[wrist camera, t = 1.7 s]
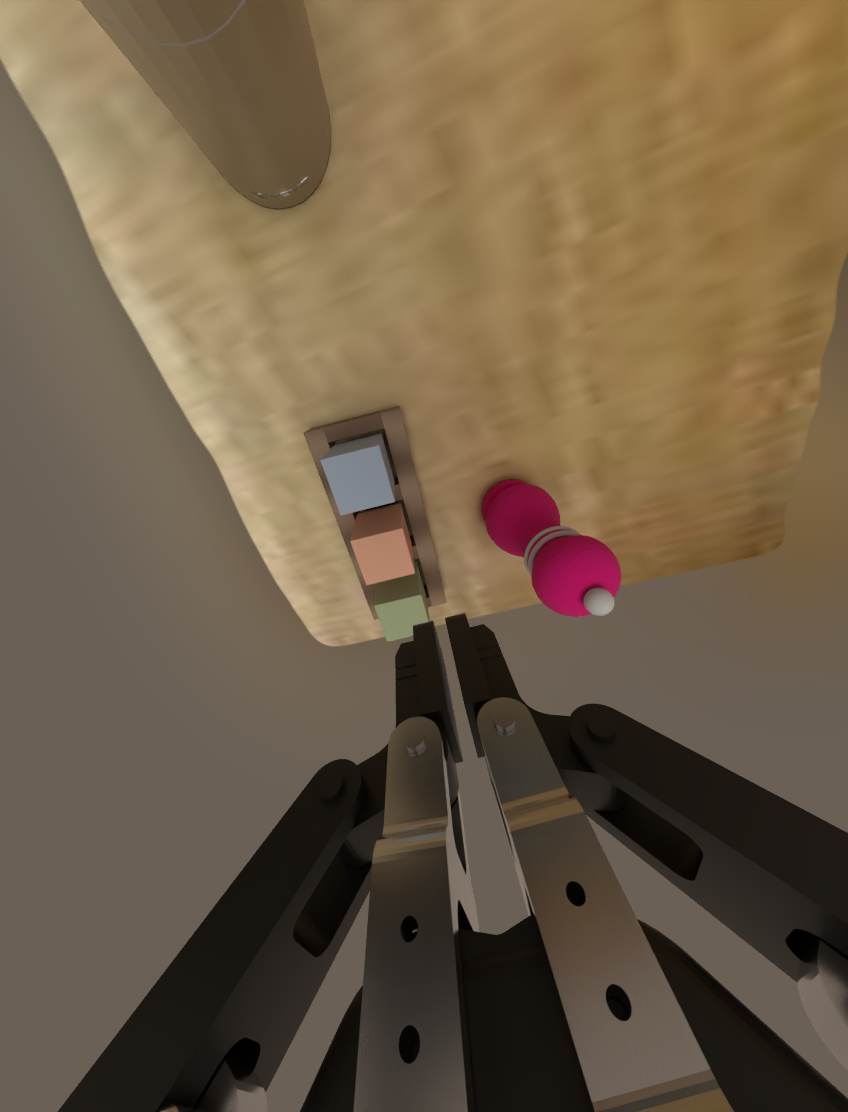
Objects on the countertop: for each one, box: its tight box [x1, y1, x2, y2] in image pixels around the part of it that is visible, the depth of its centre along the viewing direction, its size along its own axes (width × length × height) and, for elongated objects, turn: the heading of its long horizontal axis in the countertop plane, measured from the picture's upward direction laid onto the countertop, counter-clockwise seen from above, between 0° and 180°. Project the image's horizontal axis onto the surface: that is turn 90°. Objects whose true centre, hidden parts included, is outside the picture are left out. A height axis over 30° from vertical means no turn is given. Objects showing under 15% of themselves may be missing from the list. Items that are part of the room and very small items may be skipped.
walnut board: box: [304, 406, 446, 620], centre depth 37 cm, size 22×9×3 cm, turn 13°
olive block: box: [374, 560, 430, 642], centre depth 36 cm, size 5×5×7 cm
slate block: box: [320, 433, 395, 515], centre depth 30 cm, size 5×5×7 cm
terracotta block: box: [350, 502, 415, 585], centre depth 33 cm, size 5×5×7 cm
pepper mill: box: [482, 479, 621, 617], centre depth 30 cm, size 7×7×20 cm
